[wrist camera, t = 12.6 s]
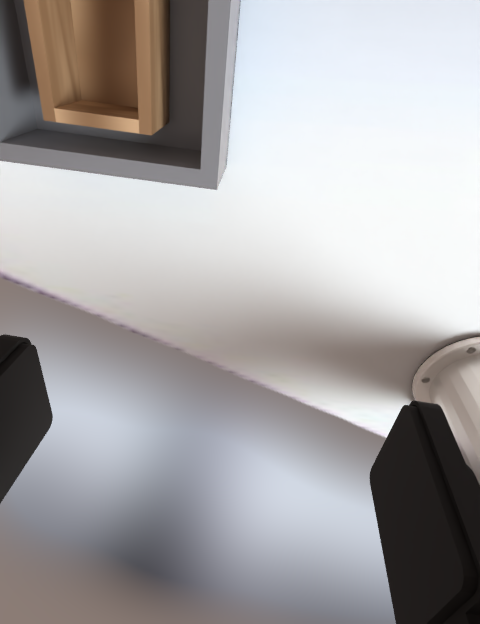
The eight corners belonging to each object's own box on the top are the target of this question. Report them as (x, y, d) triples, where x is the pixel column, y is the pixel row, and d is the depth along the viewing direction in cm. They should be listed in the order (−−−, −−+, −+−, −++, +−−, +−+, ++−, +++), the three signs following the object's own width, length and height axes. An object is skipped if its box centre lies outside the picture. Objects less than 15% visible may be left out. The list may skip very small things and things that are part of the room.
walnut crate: (170, -61, 23) (147, -83, 19) (169, 122, 29) (151, 135, 25) (54, -77, 23) (6, -103, 19) (77, 109, 29) (43, 120, 25)
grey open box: (250, -120, 22) (243, -167, 17) (226, 166, 31) (216, 189, 26) (-26, -157, 22) (-112, -215, 17) (32, 140, 31) (-14, 158, 26)
